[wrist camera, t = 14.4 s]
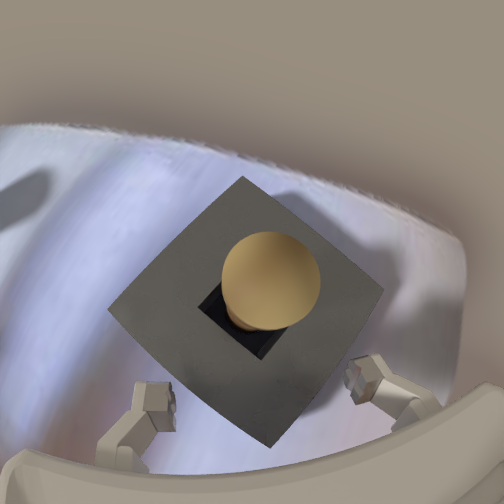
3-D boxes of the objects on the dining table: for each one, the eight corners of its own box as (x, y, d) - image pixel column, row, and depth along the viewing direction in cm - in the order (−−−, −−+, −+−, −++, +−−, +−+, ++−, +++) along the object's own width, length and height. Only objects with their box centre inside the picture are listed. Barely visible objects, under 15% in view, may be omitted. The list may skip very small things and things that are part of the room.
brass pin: (284, 309, 25) (337, 272, 14) (251, 350, 24) (281, 349, 12) (243, 275, 26) (265, 214, 15) (208, 315, 24) (200, 281, 13)
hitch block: (358, 301, 26) (384, 289, 22) (260, 431, 21) (270, 448, 16) (238, 203, 29) (242, 175, 24) (126, 317, 23) (107, 309, 18)
